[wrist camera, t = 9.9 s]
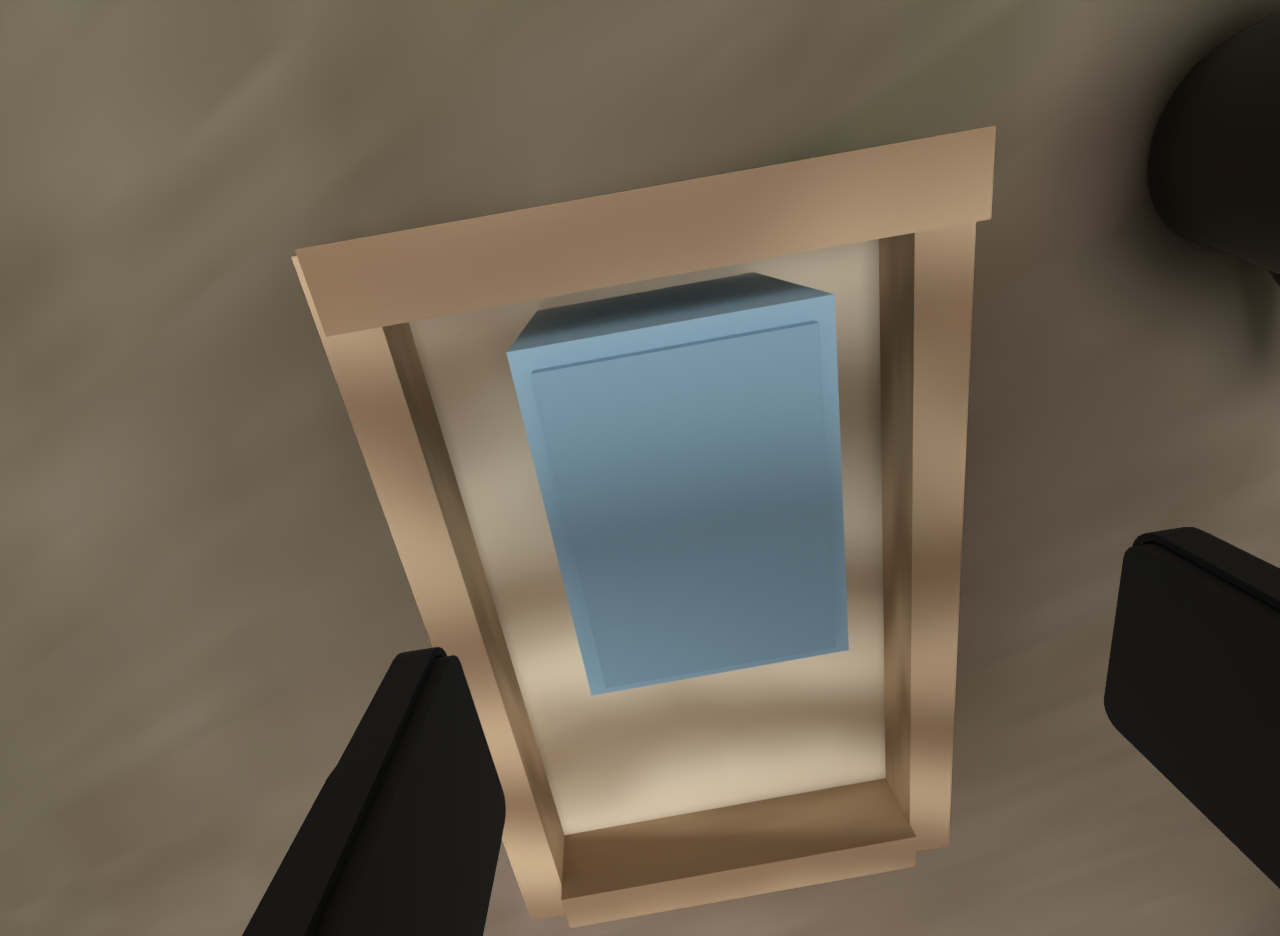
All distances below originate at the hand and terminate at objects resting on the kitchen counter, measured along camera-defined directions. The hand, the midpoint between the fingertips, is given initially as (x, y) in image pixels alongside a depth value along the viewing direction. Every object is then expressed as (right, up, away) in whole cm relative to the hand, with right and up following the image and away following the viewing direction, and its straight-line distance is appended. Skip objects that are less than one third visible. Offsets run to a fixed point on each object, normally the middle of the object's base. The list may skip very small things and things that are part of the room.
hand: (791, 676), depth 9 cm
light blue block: (-1, +4, +9) cm, 10 cm away
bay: (-1, -1, +13) cm, 13 cm away
